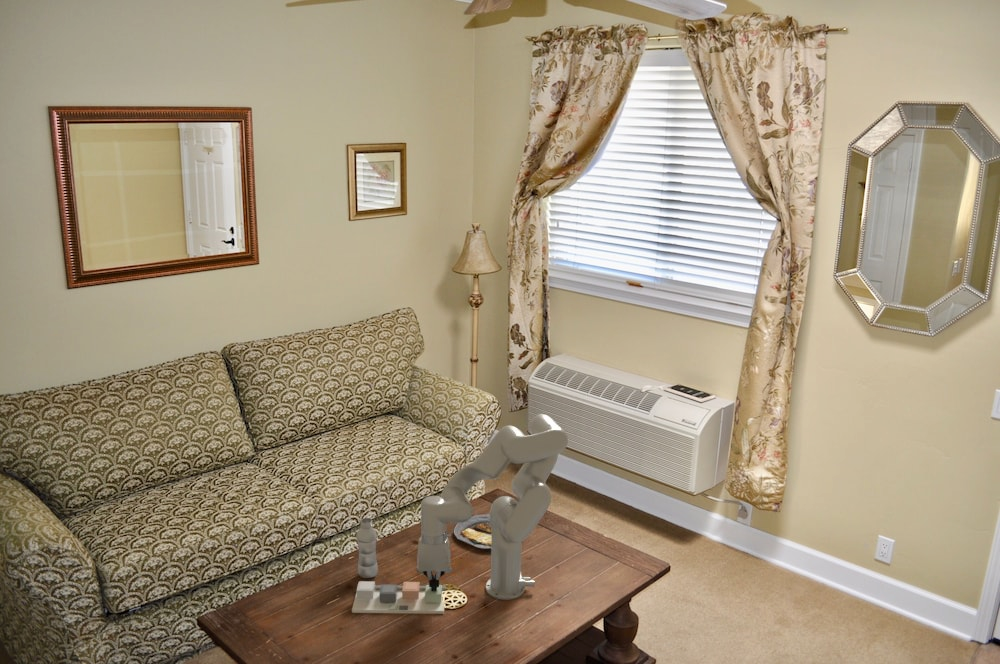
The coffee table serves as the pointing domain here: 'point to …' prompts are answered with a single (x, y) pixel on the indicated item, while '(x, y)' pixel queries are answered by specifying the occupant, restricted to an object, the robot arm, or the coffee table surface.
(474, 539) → the food plate
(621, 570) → the coffee table surface
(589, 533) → the coffee table surface
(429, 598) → the key sage
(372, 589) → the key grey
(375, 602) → the keyboard base
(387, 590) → the key charcoal
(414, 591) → the key terracotta
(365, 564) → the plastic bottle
